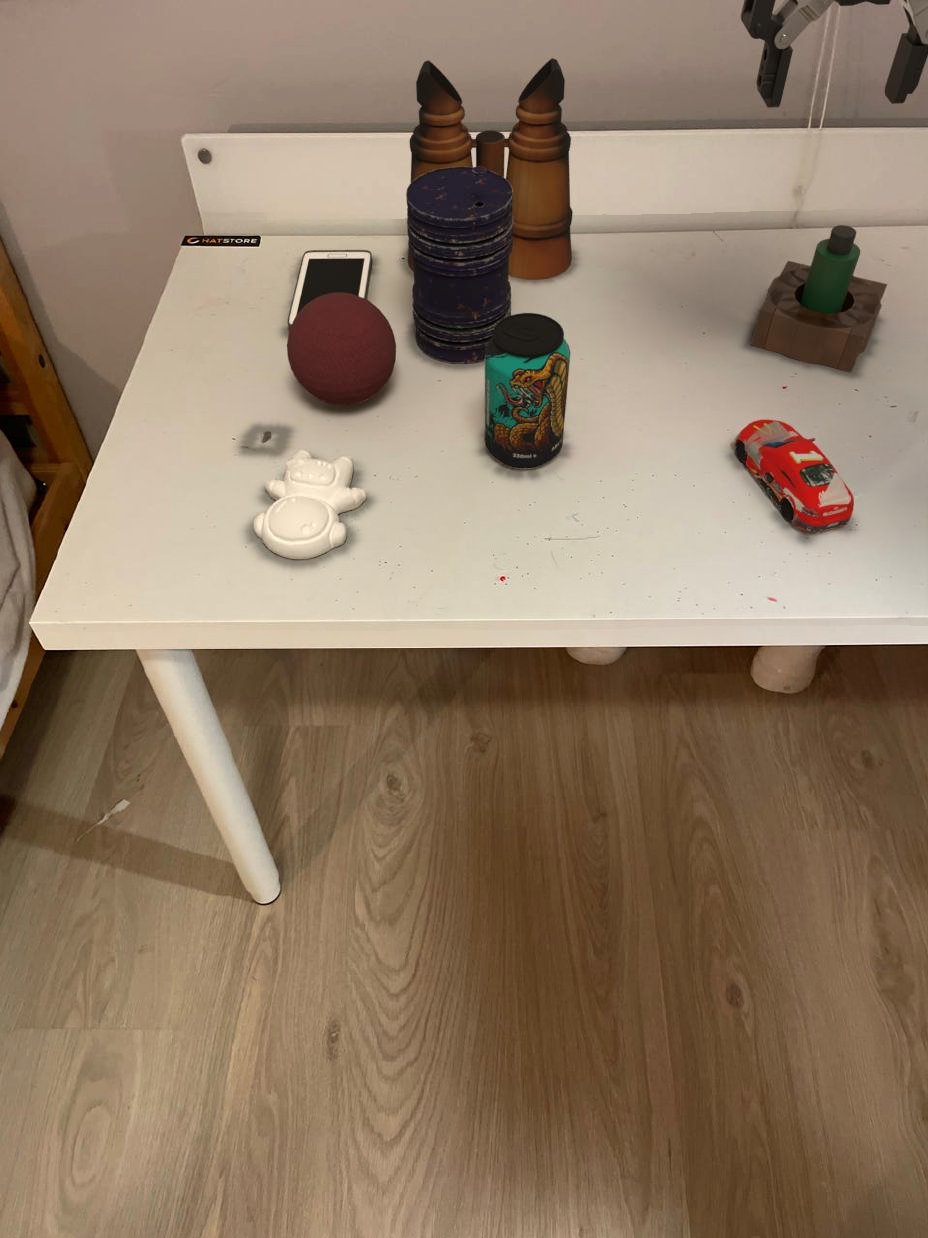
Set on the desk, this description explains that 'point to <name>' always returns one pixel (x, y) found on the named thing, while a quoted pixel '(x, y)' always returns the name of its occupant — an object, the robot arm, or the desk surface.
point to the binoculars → (530, 167)
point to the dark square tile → (265, 436)
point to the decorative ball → (341, 349)
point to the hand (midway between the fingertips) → (832, 100)
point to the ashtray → (817, 321)
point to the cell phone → (330, 276)
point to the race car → (795, 475)
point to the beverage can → (526, 390)
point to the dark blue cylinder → (459, 259)
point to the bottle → (831, 271)
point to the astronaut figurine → (308, 507)
